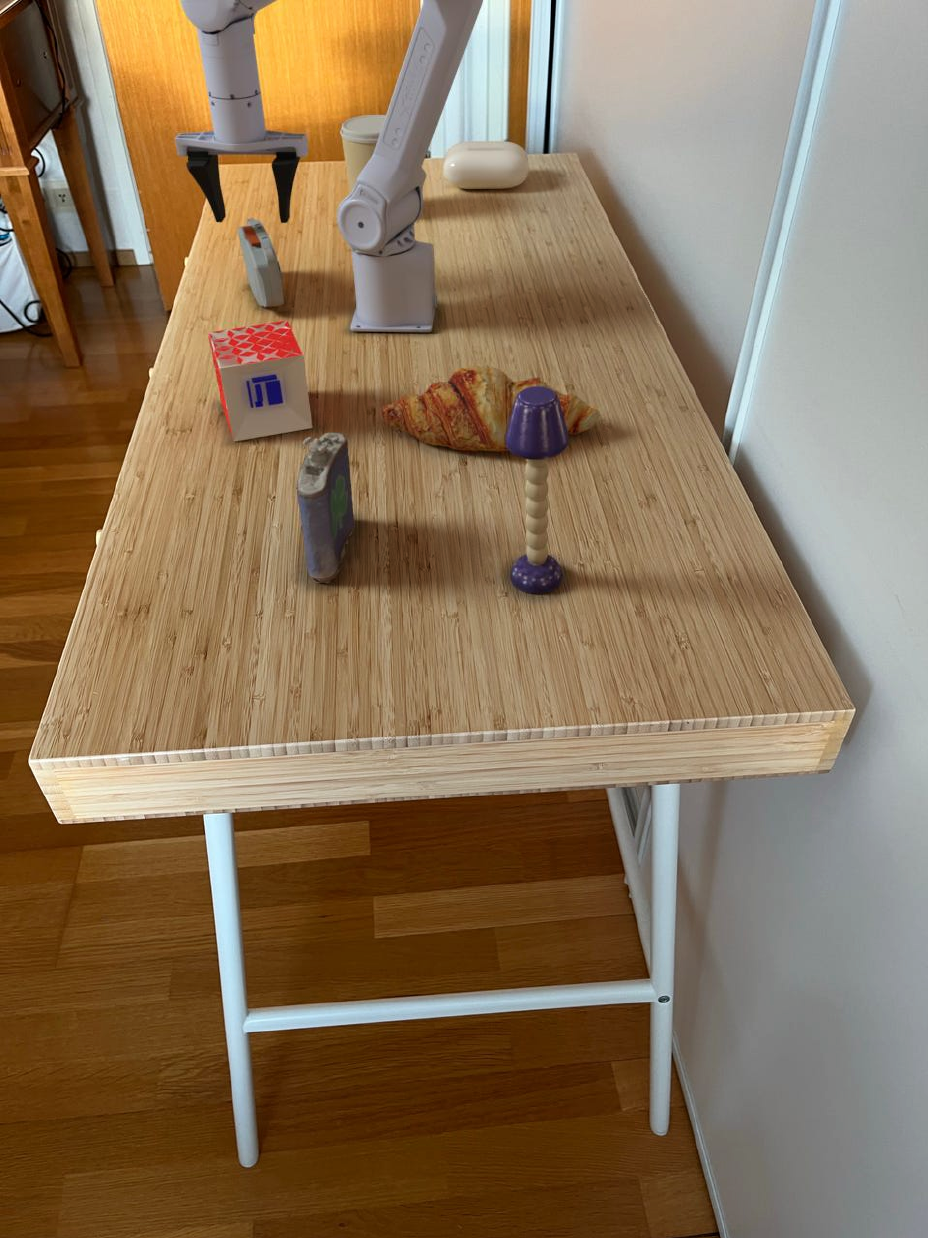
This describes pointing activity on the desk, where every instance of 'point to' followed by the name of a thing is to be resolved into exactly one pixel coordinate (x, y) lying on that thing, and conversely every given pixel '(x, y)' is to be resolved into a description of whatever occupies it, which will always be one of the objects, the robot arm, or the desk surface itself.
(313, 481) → the flask
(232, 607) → the desk surface
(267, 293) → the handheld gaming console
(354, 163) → the coffee cup
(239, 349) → the white and red cube
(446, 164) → the earbud case
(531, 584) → the toy lamp
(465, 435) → the croissant
